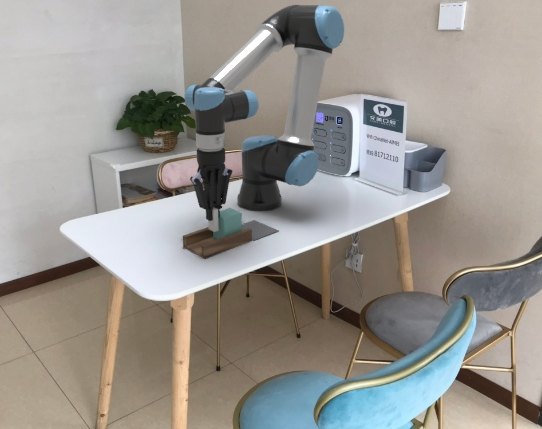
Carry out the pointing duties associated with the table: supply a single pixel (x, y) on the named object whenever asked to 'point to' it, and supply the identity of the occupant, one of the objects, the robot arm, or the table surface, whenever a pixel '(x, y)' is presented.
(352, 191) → the table surface
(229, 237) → the chute
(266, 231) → the mat
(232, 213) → the block
